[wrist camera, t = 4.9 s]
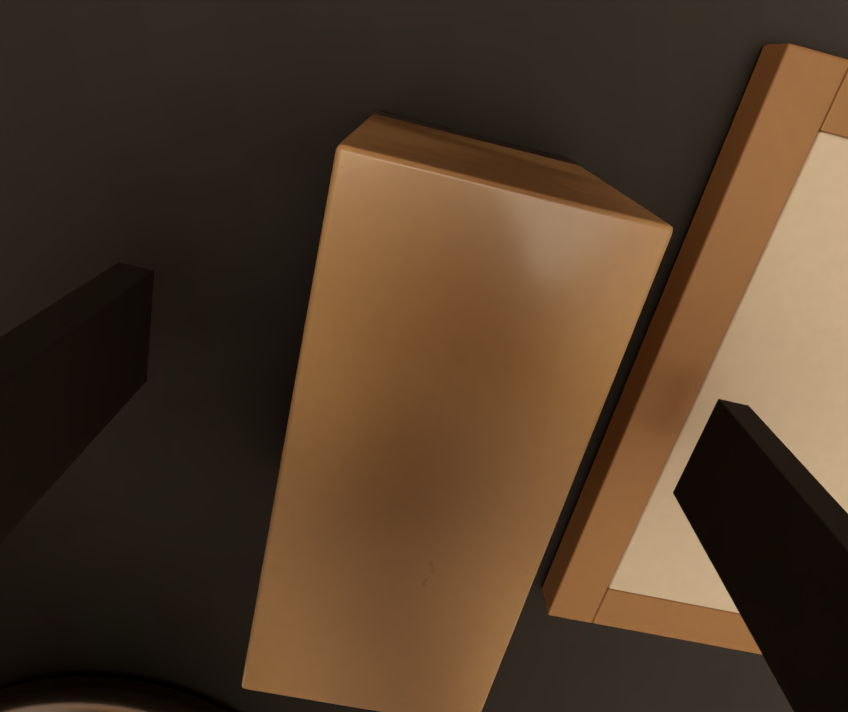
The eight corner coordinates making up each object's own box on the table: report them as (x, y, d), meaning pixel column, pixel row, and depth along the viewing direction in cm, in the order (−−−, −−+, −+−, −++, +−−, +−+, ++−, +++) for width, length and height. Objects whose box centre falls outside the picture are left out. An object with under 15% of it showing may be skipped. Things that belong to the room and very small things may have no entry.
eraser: (303, 477, 20) (239, 690, 13) (375, 109, 16) (336, 142, 9) (459, 509, 21) (475, 729, 14) (571, 159, 16) (677, 227, 9)
